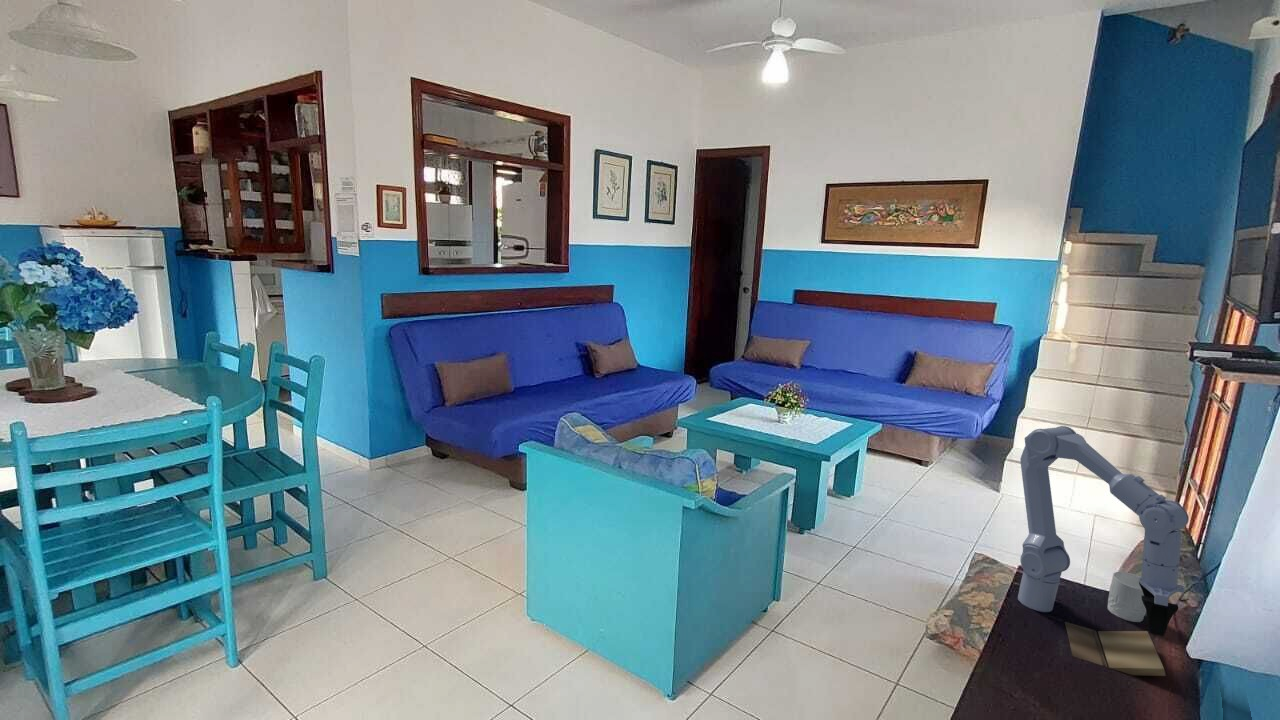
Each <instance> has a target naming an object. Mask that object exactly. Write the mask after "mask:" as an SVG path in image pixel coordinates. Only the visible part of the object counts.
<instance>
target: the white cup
mask: <svg viewBox="0 0 1280 720" xmlns="http://www.w3.org/2000/svg"><path fill="white" fill-rule="evenodd" d="M1140 578H1141V575H1137V574H1133V573H1130V572H1126V571H1116V572H1113V573H1112V579H1111V584H1110V587H1109V593H1108V599H1107V610H1108V611H1109V612H1110V613H1111V614H1112V615H1115V616H1116V617H1118V618H1120V619H1122V620H1125V621H1128V622H1134V623H1141V622H1142V621H1143V620H1144V617H1145V616H1146V615H1147V613H1146V608H1145V606H1144V604H1143V602H1142V598H1141V597H1142V596H1144V594H1143V591H1142V589H1141V587H1140V585H1139V581H1140Z"/></svg>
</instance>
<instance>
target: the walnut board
mask: <svg viewBox="0 0 1280 720" xmlns="http://www.w3.org/2000/svg"><path fill="white" fill-rule="evenodd" d="M1064 625H1065V629H1066V633H1067V638H1068V641H1069V646H1070V652H1071V654H1072V657H1073V658H1076V659H1080V660H1083V661H1086V662H1090V663H1093V664H1095V665H1099V666H1101V667H1102V666H1103V667H1104V668H1105V667H1106V668H1108V663H1107V660H1106V659H1105V658H1106V657H1105V656H1104V655H1105V653H1104V650H1103V647H1102V644H1101V641H1100V637H1099V634H1098V631H1097V630H1096V629H1091V628H1088V627H1085V626H1081V625H1078V624H1075V623H1070V622H1068V621H1064Z"/></svg>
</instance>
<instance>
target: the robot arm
mask: <svg viewBox="0 0 1280 720" xmlns="http://www.w3.org/2000/svg"><path fill="white" fill-rule="evenodd" d="M1058 459H1064V460H1065V459H1067V460H1073V461H1076V462H1077V463H1079V464H1081V465H1082V466H1083V467H1084V468H1085V469H1087V470H1089V471H1090V472H1091V473H1093V474H1094V475H1096V476H1097V477H1098V478H1099V479H1101V480H1102V481H1104V482H1105V483H1106V484H1108V486H1109V492H1110V494H1111V495H1113V497H1115V498H1116V499H1117V500H1118V501H1119V502H1121V503H1122V504H1123V505H1124V506H1126V507H1127V508H1128V509H1130V510H1131V511H1132V512H1133V513H1134V514H1136V515H1137V516H1138V518H1139V522H1140V523H1141V525H1142V527H1143V529H1144V536H1143V538H1144V539H1143V548H1142V559H1141V560H1142V562H1141V571H1140V572H1141V575H1140V577H1141V578H1140V581H1139V585H1140V587H1141V589H1142V591H1143V594H1144V596H1142V597H1141V598H1142V602H1143V604H1144V606H1145V608H1146V617H1147V622H1148V623H1147V624H1148V629H1149V633H1150V634H1152V635H1156V636H1161V637H1164V636H1165V634H1166V631H1167V629H1168V626H1169V623H1170V620H1171V619H1172V617H1173V616H1174V615H1175V614H1176V613H1177V611H1178V610H1179V605H1178V604H1175V603H1171V602H1169V598H1170V597H1172V596H1173V595H1175V594H1176V593H1178V592H1181V593H1185V592H1186V588H1185V586H1184V585H1179V584H1178V580H1179V569H1180V568H1179V567H1180V558H1181V546H1182V545H1181V541H1182V529H1183V528H1185V527H1186V526H1187V525H1188V523H1189V514H1188V512H1187V511H1186V509H1185V508H1184V507H1183V506H1182V505H1181V504H1180V502H1177V501H1174V500H1170V499H1167V498H1166V497H1165V495H1163V494H1159V493H1157V492H1156V491H1155V490H1153V489H1152V488H1151V487H1150V486H1148V485H1147V484H1145V479H1143V477H1141V476H1140V475H1139V476H1138V475H1137V476H1135V475H1134V474H1131V473H1122V472H1121V471H1120V470H1119V469H1117V467H1116V466H1114V465H1113V464H1112V463H1111V462H1109V460H1107V458H1105V457H1104V456H1103V455H1101V454H1100V452H1098V451H1097V450H1096V449H1095V448H1094V447H1092V446H1091V445H1090V444H1089V443H1088V442H1087V441H1086V439H1085V437H1084V436H1083V435H1081V434H1079V433H1077V432H1076V431H1075V430H1074V429H1073V428H1071V427H1069V426H1065V425H1061V426H1056V427H1050V428H1035V429H1034V430H1032V431H1031V432H1030V433H1029V434H1028V435H1027V436H1025V437H1024V448H1023V451H1022V452H1021V455H1020V462H1019V463H1020V469H1021V477H1022V478H1021V479H1022V485H1023V495H1024V501H1025V511H1026V519H1027V529H1028V535H1027V537H1026V538H1025V540H1024V541H1023V543H1022V553H1021V555H1020V566H1021V568H1022V569H1023V572H1022V577H1021V581H1020V584H1019V588H1018V589H1019V591H1018V595H1017V600H1018V601H1019V602H1020V603H1021V604H1022V605H1023V606H1025V607H1026V608H1029V609H1031V610H1034V611H1037V612H1041V613H1049V612H1052V611H1053V609H1054V605H1055V602H1056V597H1057V594H1058V589H1059V585H1060V581H1061V576H1062V573H1063V572H1065V571H1067V570H1068V569H1069V568H1070V566H1071V558H1070V556H1069V553H1068V552H1067V550H1066V548H1065V544H1064V543H1065V542H1064V540H1063V539H1062V538H1061V537H1059V536H1058V535H1057V529H1056V521H1055V512H1054V506H1053V505H1054V504H1053V497H1052V488H1051V481H1050V474H1049V473H1050V472H1049V467H1050V466H1052V464H1054V463H1055V461H1057V460H1058Z"/></svg>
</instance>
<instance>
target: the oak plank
mask: <svg viewBox="0 0 1280 720" xmlns="http://www.w3.org/2000/svg"><path fill="white" fill-rule="evenodd" d="M1097 635H1098V638H1099V641H1100V644H1101V647H1102V651H1103V654H1104V655H1105V656H1104V657H1105V658H1106V659H1105V660H1106V663H1107V666H1108V668H1109V669H1111V670H1115V671H1118V672H1121V673H1124V674H1127V675H1130V676H1153V677H1154V676H1156V677H1157V676H1158V677H1160V676H1161V677H1166V676H1167V675H1166V671H1165V668H1164V666H1163V663H1162V661H1161V659H1160V655H1159V654H1158V652H1157V650H1156V647H1155V646H1154V643H1153V641H1152V639H1151V636H1150V634H1149V631H1147V630H1142V631H1141V630H1138V631H1137V630H1135V631H1134V630H1131V631H1129V630H1127V631H1126V630H1123V631H1121V630H1118V631H1117V630H1112V631H1111V630H1109V631H1108V630H1106V631H1105V630H1104V631H1103V630H1101V631H1097Z"/></svg>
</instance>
